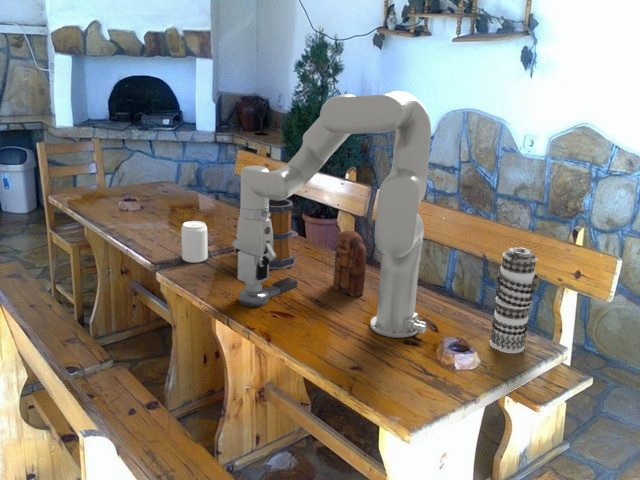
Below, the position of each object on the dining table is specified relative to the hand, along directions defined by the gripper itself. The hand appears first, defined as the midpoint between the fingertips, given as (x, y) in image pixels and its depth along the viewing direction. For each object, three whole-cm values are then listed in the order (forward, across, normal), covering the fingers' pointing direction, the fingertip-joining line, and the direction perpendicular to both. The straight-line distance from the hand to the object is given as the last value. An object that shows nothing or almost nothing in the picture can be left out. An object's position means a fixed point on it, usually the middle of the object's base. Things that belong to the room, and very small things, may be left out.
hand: (253, 275), depth 179 cm
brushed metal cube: (+1, 0, 0) cm, 1 cm away
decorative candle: (+7, -64, -24) cm, 69 cm away
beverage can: (+8, +37, -11) cm, 39 cm away
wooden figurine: (+8, -14, -25) cm, 30 cm away
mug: (+8, +20, -29) cm, 36 cm away
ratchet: (+8, 0, -7) cm, 10 cm away
